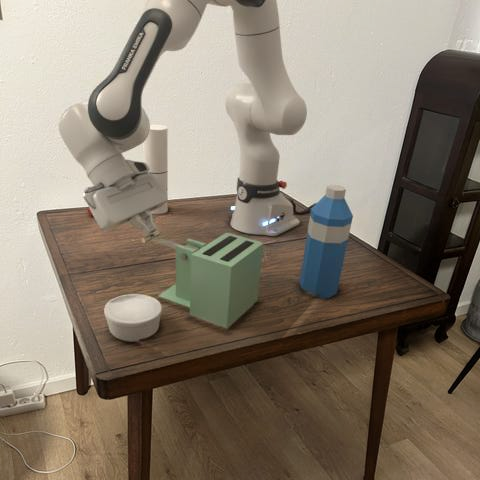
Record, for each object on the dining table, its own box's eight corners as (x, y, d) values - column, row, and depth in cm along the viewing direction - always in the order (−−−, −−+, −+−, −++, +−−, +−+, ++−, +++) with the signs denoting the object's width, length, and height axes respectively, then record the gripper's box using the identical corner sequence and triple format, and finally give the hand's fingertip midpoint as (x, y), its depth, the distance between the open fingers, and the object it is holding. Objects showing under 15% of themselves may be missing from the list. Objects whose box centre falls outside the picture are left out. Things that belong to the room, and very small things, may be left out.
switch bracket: (158, 300, 110) (157, 245, 103) (180, 284, 117) (181, 231, 109) (199, 315, 106) (202, 259, 99) (221, 298, 113) (224, 244, 105)
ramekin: (143, 309, 106) (142, 288, 103) (173, 333, 99) (173, 311, 96) (95, 325, 99) (93, 303, 97) (123, 352, 93) (122, 329, 90)
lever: (141, 245, 107) (141, 235, 106) (156, 237, 111) (156, 227, 110) (189, 264, 103) (190, 253, 102) (202, 255, 107) (203, 245, 106)
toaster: (188, 319, 104) (190, 253, 96) (222, 292, 115) (226, 231, 107) (226, 333, 101) (231, 266, 93) (257, 304, 112) (264, 242, 104)
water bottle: (312, 301, 115) (331, 196, 101) (291, 283, 121) (306, 182, 108) (344, 294, 118) (367, 192, 105) (322, 277, 125) (340, 179, 112)
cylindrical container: (163, 215, 153) (162, 131, 139) (141, 212, 154) (138, 127, 140) (170, 207, 159) (170, 126, 145) (149, 204, 160) (147, 123, 146)
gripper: (86, 181, 96) (128, 241, 98) (150, 161, 112) (186, 213, 113) (71, 198, 100) (112, 255, 102) (135, 176, 116) (169, 226, 118)
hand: (151, 233), depth 108 cm, fingers closed, pressing on lever
